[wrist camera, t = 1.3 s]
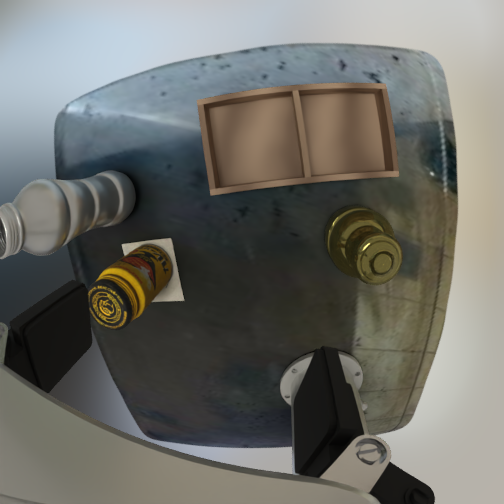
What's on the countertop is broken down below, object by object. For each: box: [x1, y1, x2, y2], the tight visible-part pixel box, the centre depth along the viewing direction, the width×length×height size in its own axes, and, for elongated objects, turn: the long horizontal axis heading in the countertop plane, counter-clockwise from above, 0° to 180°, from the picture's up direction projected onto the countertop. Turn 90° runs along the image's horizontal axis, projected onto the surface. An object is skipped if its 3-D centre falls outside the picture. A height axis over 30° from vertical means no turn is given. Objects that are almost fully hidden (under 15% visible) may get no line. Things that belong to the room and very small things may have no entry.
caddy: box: [197, 83, 399, 195], centre depth 27 cm, size 20×10×4 cm, turn 98°
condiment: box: [88, 238, 184, 330], centre depth 30 cm, size 7×8×12 cm
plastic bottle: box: [0, 170, 136, 259], centre depth 23 cm, size 6×7×20 cm
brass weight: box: [324, 205, 403, 285], centre depth 27 cm, size 7×7×10 cm
